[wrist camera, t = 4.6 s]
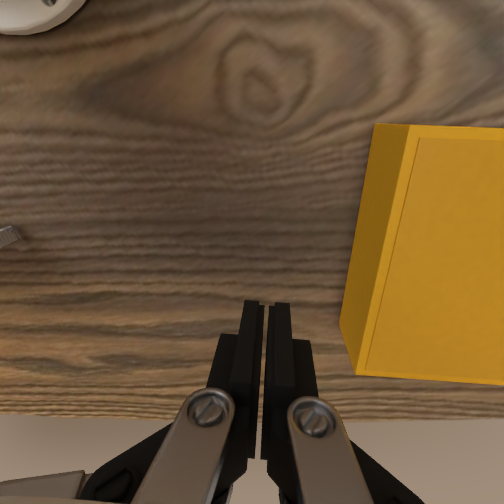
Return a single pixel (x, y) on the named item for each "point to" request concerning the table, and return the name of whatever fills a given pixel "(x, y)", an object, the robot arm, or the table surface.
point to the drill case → (429, 257)
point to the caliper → (7, 236)
